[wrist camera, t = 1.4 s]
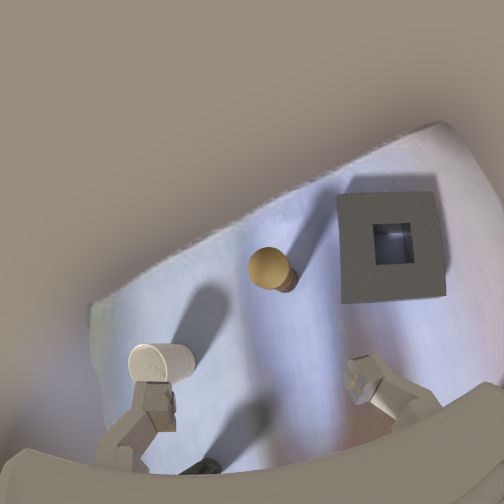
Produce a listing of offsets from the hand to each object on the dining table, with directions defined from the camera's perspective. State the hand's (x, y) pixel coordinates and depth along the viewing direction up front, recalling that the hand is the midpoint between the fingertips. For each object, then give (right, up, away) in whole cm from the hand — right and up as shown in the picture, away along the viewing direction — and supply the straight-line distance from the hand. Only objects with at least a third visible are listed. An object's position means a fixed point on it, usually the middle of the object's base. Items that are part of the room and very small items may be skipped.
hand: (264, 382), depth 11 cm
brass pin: (+5, +1, +33) cm, 33 cm away
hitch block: (+21, +6, +29) cm, 37 cm away
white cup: (-14, -14, +35) cm, 41 cm away
